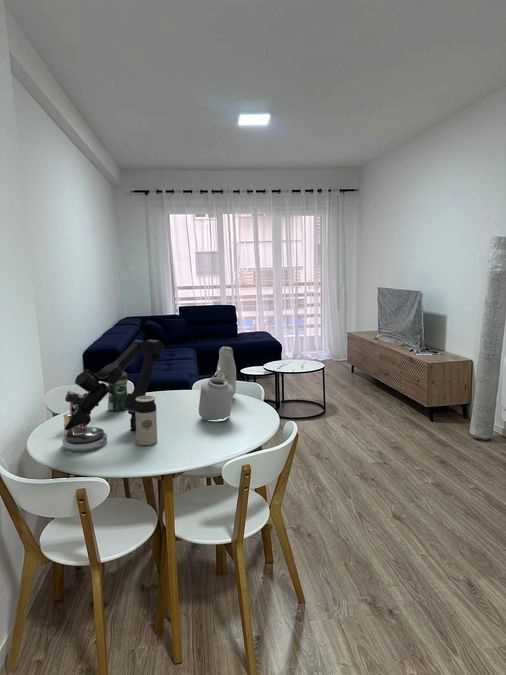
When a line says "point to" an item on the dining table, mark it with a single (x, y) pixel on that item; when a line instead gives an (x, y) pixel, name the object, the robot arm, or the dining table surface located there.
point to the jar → (215, 399)
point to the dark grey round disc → (85, 445)
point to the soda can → (80, 424)
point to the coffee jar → (118, 394)
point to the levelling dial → (82, 433)
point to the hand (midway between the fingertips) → (65, 428)
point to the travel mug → (146, 420)
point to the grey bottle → (227, 367)
